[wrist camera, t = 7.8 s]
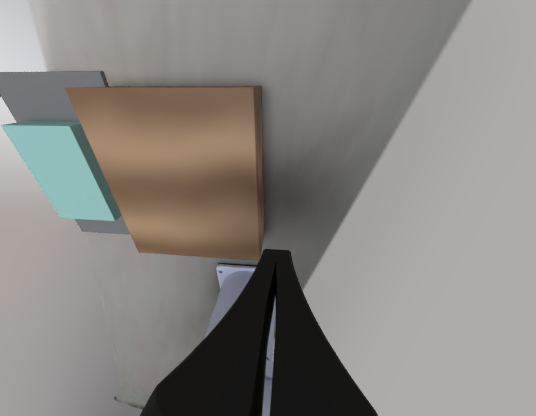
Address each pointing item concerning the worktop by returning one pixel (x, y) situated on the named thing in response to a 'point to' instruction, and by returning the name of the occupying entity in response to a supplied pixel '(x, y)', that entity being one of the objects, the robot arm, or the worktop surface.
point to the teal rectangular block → (65, 168)
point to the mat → (53, 112)
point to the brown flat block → (181, 164)
